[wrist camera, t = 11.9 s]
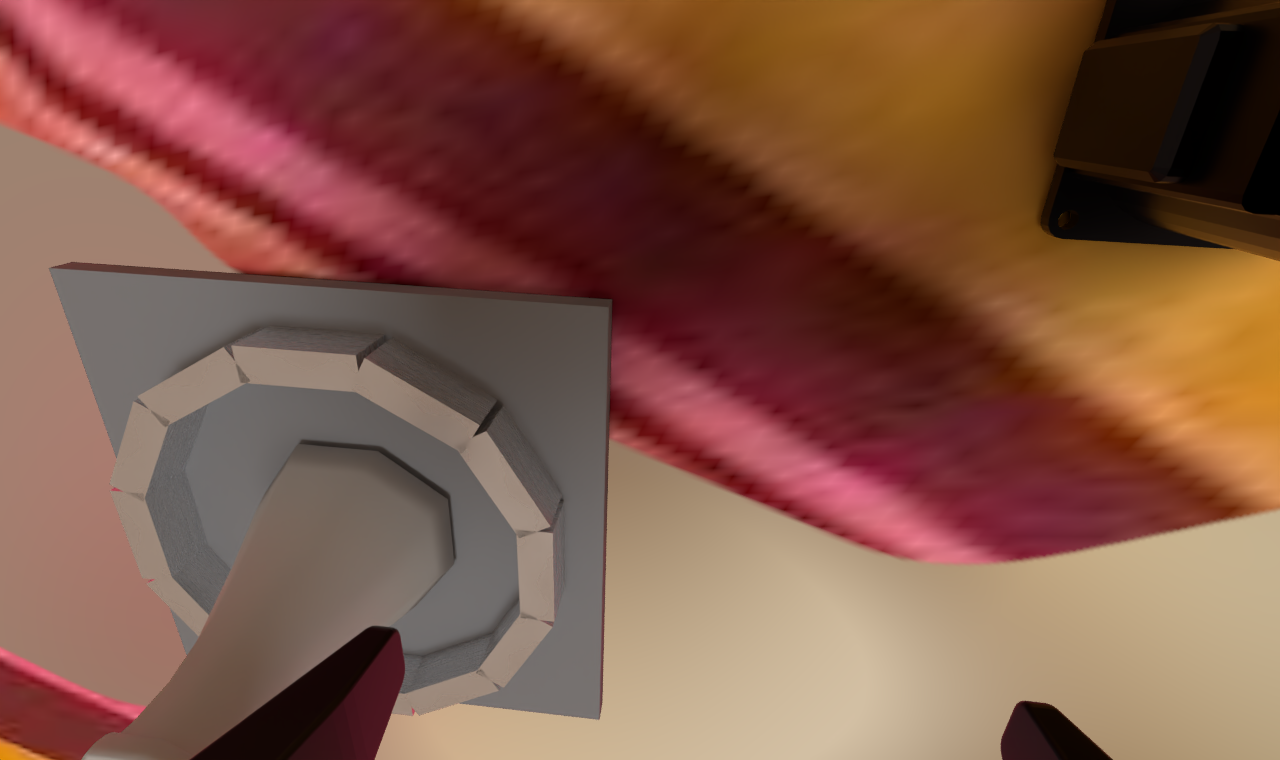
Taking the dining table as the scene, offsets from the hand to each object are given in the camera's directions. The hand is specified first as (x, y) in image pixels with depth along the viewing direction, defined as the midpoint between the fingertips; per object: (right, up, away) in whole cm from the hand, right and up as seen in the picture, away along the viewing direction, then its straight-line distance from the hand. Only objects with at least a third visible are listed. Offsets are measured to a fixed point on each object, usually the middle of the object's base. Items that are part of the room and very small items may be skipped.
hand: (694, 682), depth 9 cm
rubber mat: (-11, -1, +14) cm, 18 cm away
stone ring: (-11, -1, +14) cm, 18 cm away
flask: (-11, -1, +14) cm, 18 cm away
